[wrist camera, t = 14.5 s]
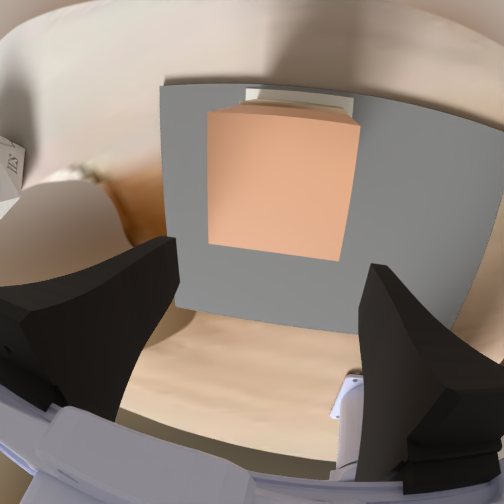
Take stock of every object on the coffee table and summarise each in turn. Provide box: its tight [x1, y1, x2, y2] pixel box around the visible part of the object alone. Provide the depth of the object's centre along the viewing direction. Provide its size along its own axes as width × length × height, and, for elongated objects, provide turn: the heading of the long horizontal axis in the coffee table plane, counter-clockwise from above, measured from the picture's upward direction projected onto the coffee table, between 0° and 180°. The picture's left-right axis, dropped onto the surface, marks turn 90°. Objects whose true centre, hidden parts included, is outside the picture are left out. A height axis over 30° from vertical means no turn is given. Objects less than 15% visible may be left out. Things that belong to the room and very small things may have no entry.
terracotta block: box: [207, 105, 360, 261], centre depth 13 cm, size 5×5×4 cm
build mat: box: [160, 84, 504, 335], centre depth 21 cm, size 24×18×1 cm
